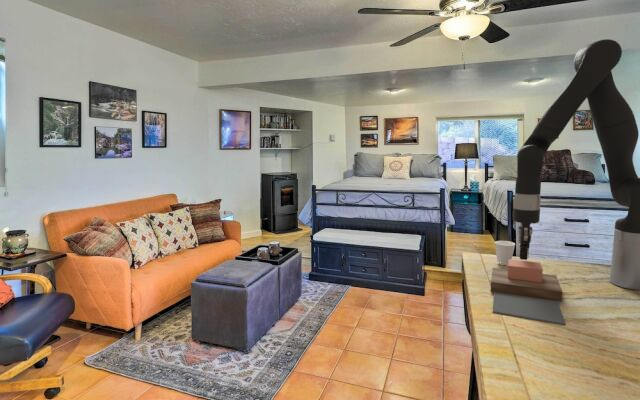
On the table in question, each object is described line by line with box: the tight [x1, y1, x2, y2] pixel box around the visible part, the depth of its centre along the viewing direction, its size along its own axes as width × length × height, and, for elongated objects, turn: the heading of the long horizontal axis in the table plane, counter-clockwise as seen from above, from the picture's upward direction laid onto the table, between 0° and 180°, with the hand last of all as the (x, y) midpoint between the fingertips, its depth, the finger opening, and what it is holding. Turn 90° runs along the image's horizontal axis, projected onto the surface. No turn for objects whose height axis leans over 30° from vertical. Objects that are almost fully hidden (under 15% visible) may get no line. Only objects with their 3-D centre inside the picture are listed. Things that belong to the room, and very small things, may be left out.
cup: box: [494, 240, 516, 267], centre depth 132 cm, size 7×10×8 cm
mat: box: [492, 292, 566, 326], centre depth 96 cm, size 14×16×1 cm
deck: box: [490, 267, 563, 303], centre depth 109 cm, size 14×18×3 cm
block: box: [507, 259, 544, 282], centre depth 110 cm, size 7×9×4 cm
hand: (523, 258), depth 116 cm, fingers closed
